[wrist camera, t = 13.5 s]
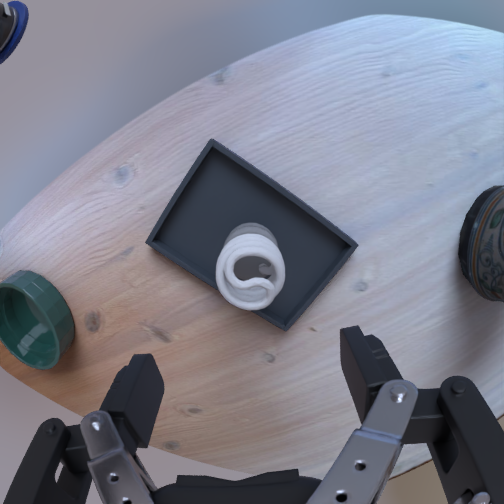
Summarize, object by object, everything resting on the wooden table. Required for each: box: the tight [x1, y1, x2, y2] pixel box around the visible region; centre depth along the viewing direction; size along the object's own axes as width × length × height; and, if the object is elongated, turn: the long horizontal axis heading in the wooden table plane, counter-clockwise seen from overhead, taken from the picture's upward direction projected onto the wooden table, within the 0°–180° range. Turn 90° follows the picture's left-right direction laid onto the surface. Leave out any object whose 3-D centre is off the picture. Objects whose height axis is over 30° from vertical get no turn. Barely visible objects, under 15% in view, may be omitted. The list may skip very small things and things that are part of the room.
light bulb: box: [216, 223, 285, 310], centre depth 29 cm, size 6×6×12 cm
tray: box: [145, 139, 358, 331], centre depth 34 cm, size 19×13×2 cm
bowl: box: [0, 270, 74, 370], centre depth 36 cm, size 14×14×5 cm
